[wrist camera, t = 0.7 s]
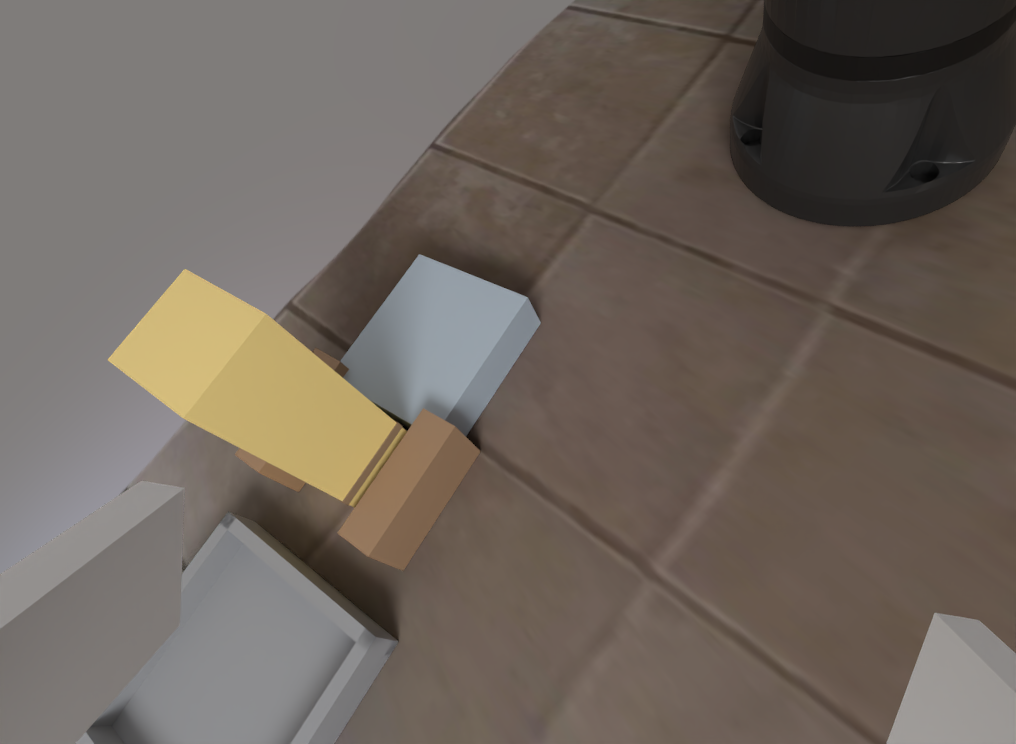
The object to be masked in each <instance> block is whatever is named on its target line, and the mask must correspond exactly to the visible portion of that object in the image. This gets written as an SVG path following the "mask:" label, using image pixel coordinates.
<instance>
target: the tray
mask: <svg viewBox="0 0 1016 744" xmlns="http://www.w3.org/2000/svg"><path fill="white" fill-rule="evenodd" d="M398 642H399V641H397V640H396V639H395V638H394V637H393V636H391V635H390V634H389V633H388V632H387V631H386V630H384V629H383V628H382V627H381V626H380V625H378V624H377V623H376V622H375V621H374V620H372V619H371V618H370V617H369V616H368V615H366V614H365V613H364V612H363V611H362V610H360V609H359V608H358V607H357V606H356V605H354V604H353V603H352V602H351V601H350V600H348V599H347V598H346V597H345V596H344V595H342V594H341V593H340V592H339V591H338V590H336V589H335V588H334V587H333V586H332V585H330V584H329V583H328V582H327V581H326V580H324V579H323V578H322V577H321V576H320V575H318V574H317V573H316V572H315V571H314V570H312V569H311V568H310V567H309V566H308V565H306V564H305V563H304V562H303V561H302V560H300V559H299V558H298V557H297V556H296V555H294V554H293V553H292V552H291V551H290V550H288V549H287V548H286V547H285V546H284V545H282V544H281V543H280V542H279V541H278V540H276V539H275V538H274V537H273V536H272V535H270V534H269V533H268V532H267V531H266V530H264V529H263V528H262V527H261V526H260V525H258V524H257V523H256V522H255V521H252V520H249V519H247V518H244V517H242V516H239V515H236V514H234V513H231V512H229V511H228V513H227V514H226V515H225V517H224V518H223V519H222V521H221V522H220V523H219V525H218V526H217V527H216V529H215V530H214V531H213V533H212V534H211V536H210V537H209V538H208V540H207V541H206V542H205V544H204V545H203V546H202V548H201V549H200V550H199V552H198V553H197V554H196V556H195V557H194V558H193V560H192V561H191V563H190V564H189V565H188V567H187V568H186V569H185V571H184V572H183V573H182V580H181V608H180V625H179V626H178V628H177V629H176V630H175V631H174V632H173V633H172V634H171V635H170V637H169V638H168V639H167V640H166V641H165V642H164V643H163V645H162V646H161V647H160V648H159V649H158V650H157V651H156V653H155V654H154V655H153V656H152V657H151V658H150V659H149V660H148V662H147V663H146V664H145V665H144V666H143V667H142V668H141V670H140V671H139V672H138V673H137V674H136V675H135V676H134V678H133V679H132V680H131V681H130V682H129V683H128V684H127V686H126V687H125V688H124V689H123V690H122V691H121V692H120V693H119V695H118V696H117V697H116V698H115V699H114V700H113V701H112V703H111V704H110V705H109V706H108V707H107V708H106V709H105V711H104V712H103V713H102V714H101V715H100V716H99V717H98V718H97V720H96V721H95V722H94V723H93V724H92V725H91V726H90V728H89V729H88V730H87V731H86V732H85V733H84V734H83V736H82V737H81V738H80V739H79V740H78V741H77V742H76V743H75V744H334V743H335V742H336V740H337V738H338V737H339V735H340V734H341V732H342V731H343V729H344V727H345V726H346V724H347V723H348V721H349V719H350V718H351V716H352V715H353V713H354V712H355V710H356V708H357V707H358V705H359V704H360V702H361V700H362V699H363V697H364V696H365V694H366V693H367V691H368V689H369V688H370V686H371V685H372V683H373V681H374V680H375V678H376V677H377V675H378V674H379V672H380V670H381V669H382V667H383V666H384V664H385V662H386V661H387V659H388V658H389V656H390V655H391V653H392V651H393V650H394V648H395V647H396V645H397V643H398Z"/></svg>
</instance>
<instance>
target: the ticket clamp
mask: <svg viewBox="0 0 1016 744" xmlns="http://www.w3.org/2000/svg"><path fill="white" fill-rule="evenodd" d="M540 324H541V322H540V320H539V318H538V316H537V314H536V313H535V311H534V309H533V307H532V305H531V303H530V301H529V299H528V297H526V296H523V295H521V294H518V293H516V292H513V291H511V290H508V289H506V288H503V287H500V286H498V285H495V284H493V283H490V282H488V281H485V280H483V279H480V278H478V277H475V276H473V275H470V274H468V273H465V272H463V271H460V270H458V269H455V268H453V267H450V266H448V265H445V264H443V263H440V262H438V261H435V260H433V259H430V258H428V257H425V256H423V255H420V254H419V255H418V257H417V258H416V259H415V261H414V262H413V264H412V265H411V266H410V268H409V269H408V270H407V272H406V273H405V274H404V276H403V277H402V278H401V280H400V281H399V282H398V284H397V285H396V286H395V288H394V289H393V291H392V292H391V293H390V295H389V296H388V297H387V299H386V300H385V301H384V303H383V304H382V305H381V307H380V308H379V309H378V311H377V312H376V313H375V315H374V316H373V318H372V319H371V320H370V322H369V323H368V324H367V326H366V327H365V328H364V330H363V331H362V332H361V334H360V335H359V336H358V338H357V339H356V340H355V342H354V343H353V345H352V346H351V347H350V349H349V350H348V351H347V353H346V354H345V355H344V357H343V358H342V359H341V361H338V360H337V359H335V358H333V357H331V356H329V355H328V354H326V353H324V352H322V351H321V350H319V349H317V348H315V349H314V351H313V352H312V353H314V354H315V355H316V356H317V357H318V358H320V359H321V360H322V361H323V362H324V363H326V364H327V365H328V366H329V367H330V368H332V369H333V370H334V371H335V372H336V373H338V374H339V375H340V376H341V377H342V378H344V379H345V380H346V381H347V382H348V383H350V384H351V385H352V386H353V387H354V388H356V389H357V390H358V391H359V392H360V393H362V394H363V395H364V396H365V397H366V398H368V399H369V400H370V401H371V402H372V403H374V404H375V405H376V406H377V407H378V408H380V409H381V410H382V411H383V412H384V413H386V414H387V415H388V416H389V417H390V418H392V419H393V420H395V421H397V422H399V423H400V424H402V425H404V426H405V427H407V428H409V430H408V431H407V432H406V434H405V435H404V437H403V438H402V440H401V441H400V443H399V444H398V446H397V447H396V448H395V450H394V451H393V453H392V454H391V456H390V457H389V459H388V460H387V462H386V463H385V464H384V466H383V467H382V469H381V470H380V472H379V473H378V475H377V476H376V478H375V479H374V480H373V482H372V483H371V485H370V486H369V488H368V489H367V491H366V492H365V494H364V495H363V496H362V498H361V499H360V501H359V502H358V504H357V505H356V507H355V508H354V510H353V511H352V513H351V514H350V515H349V517H348V518H347V520H346V521H345V523H344V524H343V526H342V527H341V529H340V530H339V531H338V534H339V535H340V536H342V537H343V538H344V539H346V540H347V541H348V542H349V543H351V544H352V545H353V546H355V547H356V548H357V549H359V550H360V551H361V552H362V553H364V554H365V555H366V556H368V557H370V558H372V559H375V560H377V561H380V562H382V563H385V564H387V565H390V566H392V567H394V568H397V569H399V570H402V571H404V569H405V567H406V566H407V564H408V563H409V561H410V560H411V558H412V557H413V555H414V554H415V552H416V551H417V549H418V547H419V546H420V544H421V543H422V541H423V540H424V538H425V537H426V535H427V534H428V532H429V530H430V529H431V527H432V526H433V524H434V523H435V521H436V520H437V518H438V517H439V515H440V514H441V512H442V510H443V509H444V507H445V506H446V504H447V503H448V501H449V500H450V498H451V497H452V495H453V493H454V492H455V490H456V489H457V487H458V486H459V484H460V483H461V481H462V480H463V478H464V476H465V475H466V473H467V472H468V470H469V469H470V467H471V466H472V464H473V463H474V461H475V460H476V458H477V456H478V455H479V453H480V452H481V451H480V450H479V449H478V448H477V447H476V446H475V445H474V444H473V443H472V442H471V441H470V440H469V439H468V438H467V437H466V436H467V434H468V433H469V431H470V430H471V428H472V427H473V425H474V424H475V422H476V421H477V419H478V418H479V416H480V415H481V413H482V412H483V410H484V409H485V407H486V406H487V404H488V403H489V401H490V400H491V398H492V396H493V395H494V393H495V392H496V390H497V389H498V387H499V386H500V384H501V383H502V381H503V380H504V378H505V377H506V375H507V374H508V372H509V371H510V369H511V368H512V366H513V365H514V363H515V362H516V360H517V359H518V357H519V356H520V354H521V352H522V351H523V349H524V348H525V346H526V345H527V343H528V342H529V340H530V339H531V337H532V336H533V334H534V333H535V331H536V330H537V328H538V327H539V325H540ZM235 455H236V456H237V457H239V458H240V459H241V460H243V461H244V462H245V463H246V464H248V465H249V466H250V467H252V468H253V469H254V470H256V471H257V472H258V473H260V474H262V475H264V476H266V477H268V478H270V479H272V480H274V481H276V482H279V483H281V484H283V485H285V486H287V487H289V488H291V489H293V490H295V491H297V492H299V491H300V490H301V489H302V487H303V486H304V484H305V483H306V482H304V481H303V480H301V479H299V478H297V477H295V476H293V475H291V474H289V473H287V472H285V471H283V470H281V469H279V468H278V467H276V466H274V465H272V464H270V463H268V462H266V461H264V460H262V459H260V458H258V457H256V456H255V455H253V454H251V453H249V452H247V451H245V450H243V449H241V448H239V450H238V451H237V452H236V454H235Z"/></svg>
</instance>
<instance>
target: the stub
mask: <svg viewBox="0 0 1016 744" xmlns="http://www.w3.org/2000/svg"><path fill="white" fill-rule="evenodd" d="M108 361H110V362H111V363H112V364H113V365H115V366H116V367H117V368H119V369H120V370H121V371H122V372H124V373H125V374H126V375H128V376H129V377H130V378H132V379H133V380H134V381H135V382H137V383H138V384H139V385H141V386H142V387H143V388H145V389H146V390H147V391H148V392H150V393H151V394H152V395H154V396H155V397H156V398H157V399H159V400H160V401H161V402H163V403H164V404H165V405H167V406H168V407H169V408H170V409H172V410H173V411H174V412H176V413H177V414H178V415H179V416H181V417H182V418H184V419H185V420H187V421H189V422H191V423H193V424H195V425H197V426H199V427H201V428H203V429H205V430H206V431H208V432H210V433H212V434H214V435H216V436H218V437H220V438H222V439H224V440H226V441H228V442H230V443H231V444H233V445H235V446H237V447H239V448H241V449H243V450H245V451H247V452H249V453H251V454H253V455H255V456H256V457H258V458H260V459H262V460H264V461H266V462H268V463H270V464H272V465H274V466H276V467H278V468H279V469H281V470H283V471H285V472H287V473H289V474H291V475H293V476H295V477H297V478H299V479H301V480H303V481H304V482H306V483H308V484H310V485H312V486H314V487H316V488H318V489H320V490H322V491H324V492H326V493H328V494H329V495H331V496H333V497H335V498H337V499H338V500H340V501H341V502H342V503H344V504H346V505H351V506H352V507H354V508H355V507H356V505H357V504H358V502H359V501H360V499H361V498H362V496H363V495H364V494H365V492H366V491H367V489H368V488H369V486H370V485H371V483H372V482H373V480H374V479H375V478H376V476H377V475H378V473H379V472H380V470H381V469H382V467H383V466H384V464H385V463H386V462H387V460H388V459H389V457H390V456H391V454H392V453H393V451H394V450H395V448H396V447H397V446H398V444H399V443H400V441H401V440H402V438H403V437H404V435H405V434H406V432H407V431H406V430H405V429H404V428H402V427H403V426H402V425H400V424H399V423H398V422H396V421H395V420H393V419H392V418H390V417H389V416H388V415H387V414H386V413H384V412H383V411H382V410H381V409H380V408H378V407H377V406H376V405H375V404H374V403H372V402H371V401H370V400H369V399H368V398H366V397H365V396H364V395H363V394H362V393H360V392H359V391H358V390H357V389H356V388H354V387H353V386H352V385H351V384H350V383H348V382H347V381H346V380H345V379H344V378H342V377H341V376H340V375H339V374H338V373H336V372H335V371H334V370H333V369H332V368H330V367H329V366H328V365H327V364H326V363H324V362H323V361H322V360H321V359H320V358H318V357H317V356H316V355H315V354H314V353H312V352H311V351H310V350H309V349H308V348H306V347H305V346H304V345H303V344H302V343H300V342H299V341H298V340H297V339H296V338H294V337H293V336H292V335H291V334H290V333H288V332H287V331H286V330H285V329H284V328H282V327H281V326H280V325H279V324H278V323H276V322H275V321H274V320H273V319H272V318H270V317H269V316H268V315H266V314H265V313H264V312H262V311H260V310H258V309H256V308H254V307H253V306H251V305H249V304H247V303H245V302H244V301H242V300H240V299H238V298H237V297H234V296H233V295H231V294H229V293H227V292H226V291H224V290H222V289H220V288H219V287H217V286H215V285H213V284H211V283H210V282H208V281H206V280H204V279H202V278H200V277H199V276H197V275H195V274H193V273H191V272H190V271H188V270H186V269H184V270H183V272H182V273H181V274H180V275H179V276H178V277H177V279H176V280H175V281H174V282H173V283H172V285H171V286H170V287H169V288H168V289H167V290H166V292H165V293H164V294H163V295H162V296H161V298H160V299H159V300H158V301H157V302H156V303H155V304H154V306H153V307H152V308H151V309H150V310H149V312H148V313H147V314H146V315H145V316H144V317H143V319H142V320H141V321H140V322H139V323H138V325H137V326H136V327H135V328H134V329H133V330H132V332H131V333H130V334H129V335H128V336H127V337H126V339H125V340H124V341H123V342H122V343H121V344H120V346H119V347H118V348H117V349H116V350H115V352H114V353H113V354H112V355H111V356H110V357H109V359H108Z"/></svg>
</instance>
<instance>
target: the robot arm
mask: <svg viewBox="0 0 1016 744" xmlns="http://www.w3.org/2000/svg"><path fill="white" fill-rule="evenodd" d="M1015 124H1016V0H764V16H763V27H762V30H761V32H760V35H759V37H758V40H757V42H756V45H755V47H754V50H753V52H752V55H751V57H750V60H749V62H748V65H747V67H746V70H745V72H744V75H743V77H742V80H741V82H740V85H739V87H738V90H737V92H736V95H735V98H734V101H733V105H732V110H731V116H730V149H731V156H732V160H733V164H734V166H735V169H736V171H737V173H738V174H739V176H740V178H741V179H742V181H743V182H744V183H745V185H746V186H747V187H748V188H749V189H750V190H751V191H752V192H753V193H754V194H755V195H756V196H758V197H759V198H760V199H761V200H763V201H764V202H766V203H767V204H769V205H771V206H772V207H774V208H776V209H778V210H780V211H782V212H784V213H787V214H789V215H792V216H794V217H797V218H800V219H804V220H807V221H812V222H816V223H822V224H828V225H837V226H874V225H883V224H890V223H895V222H900V221H905V220H909V219H912V218H916V217H919V216H922V215H925V214H928V213H930V212H933V211H935V210H938V209H940V208H942V207H944V206H946V205H948V204H950V203H952V202H954V201H956V200H957V199H959V198H960V197H962V196H964V195H965V194H966V193H968V192H969V191H971V190H972V189H973V188H974V187H976V186H977V185H978V184H979V183H980V182H981V181H982V180H983V179H984V178H985V177H986V176H987V175H988V174H989V173H990V171H991V170H992V169H993V168H994V166H995V165H996V163H997V162H998V160H999V158H1000V156H1001V154H1002V152H1003V150H1004V148H1005V146H1006V144H1007V142H1008V140H1009V138H1010V135H1011V133H1012V131H1013V129H1014V127H1015ZM184 496H185V488H182V487H176V486H170V485H164V484H158V483H152V482H146V481H140V482H139V483H137V484H136V485H134V486H133V487H131V488H130V489H128V490H127V491H125V492H124V493H122V494H120V495H119V496H117V497H116V498H114V499H113V500H112V501H110V502H109V503H107V504H106V505H104V506H102V507H101V508H99V509H98V510H96V511H95V512H93V513H92V514H90V515H89V516H87V517H86V518H84V519H83V520H81V521H80V522H78V523H77V524H75V525H74V526H72V527H71V528H69V529H68V530H66V531H65V532H63V533H62V534H60V535H59V536H57V537H56V538H54V539H53V540H51V541H50V542H48V543H46V544H45V545H44V546H42V547H41V548H39V549H37V550H36V551H35V552H33V553H31V554H30V555H28V556H27V557H25V558H24V559H22V560H21V561H19V562H18V563H16V564H15V565H13V566H12V567H10V568H9V569H7V570H6V571H4V572H3V573H1V574H0V744H75V743H76V742H77V741H78V740H79V739H80V738H81V737H82V736H83V734H84V733H85V732H86V731H87V730H88V729H89V728H90V726H91V725H92V724H93V723H94V722H95V721H96V720H97V718H98V717H99V716H100V715H101V714H102V713H103V712H104V711H105V709H106V708H107V707H108V706H109V705H110V704H111V703H112V701H113V700H114V699H115V698H116V697H117V696H118V695H119V693H120V692H121V691H122V690H123V689H124V688H125V687H126V686H127V684H128V683H129V682H130V681H131V680H132V679H133V678H134V676H135V675H136V674H137V673H138V672H139V671H140V670H141V668H142V667H143V666H144V665H145V664H146V663H147V662H148V660H149V659H150V658H151V657H152V656H153V655H154V654H155V653H156V651H157V650H158V649H159V648H160V647H161V646H162V645H163V643H164V642H165V641H166V640H167V639H168V638H169V637H170V635H171V634H172V633H173V632H174V631H175V630H176V629H177V628H178V626H179V625H180V608H181V580H182V552H183V524H184ZM887 744H1016V653H1014V652H1013V651H1012V650H1011V649H1010V648H1009V647H1008V646H1007V645H1006V644H1005V643H1004V642H1002V641H1001V640H1000V639H999V638H998V637H997V636H996V635H995V634H994V633H993V632H991V631H990V630H989V629H988V628H987V627H986V626H985V625H984V624H983V623H982V622H980V621H979V620H975V619H969V618H963V617H957V616H951V615H945V614H939V613H934V616H933V619H932V622H931V624H930V627H929V630H928V632H927V635H926V638H925V641H924V643H923V646H922V649H921V651H920V654H919V657H918V660H917V662H916V665H915V668H914V670H913V673H912V676H911V678H910V681H909V684H908V687H907V689H906V692H905V695H904V697H903V700H902V703H901V706H900V708H899V711H898V714H897V716H896V719H895V722H894V725H893V727H892V730H891V733H890V735H889V738H888V741H887Z"/></svg>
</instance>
